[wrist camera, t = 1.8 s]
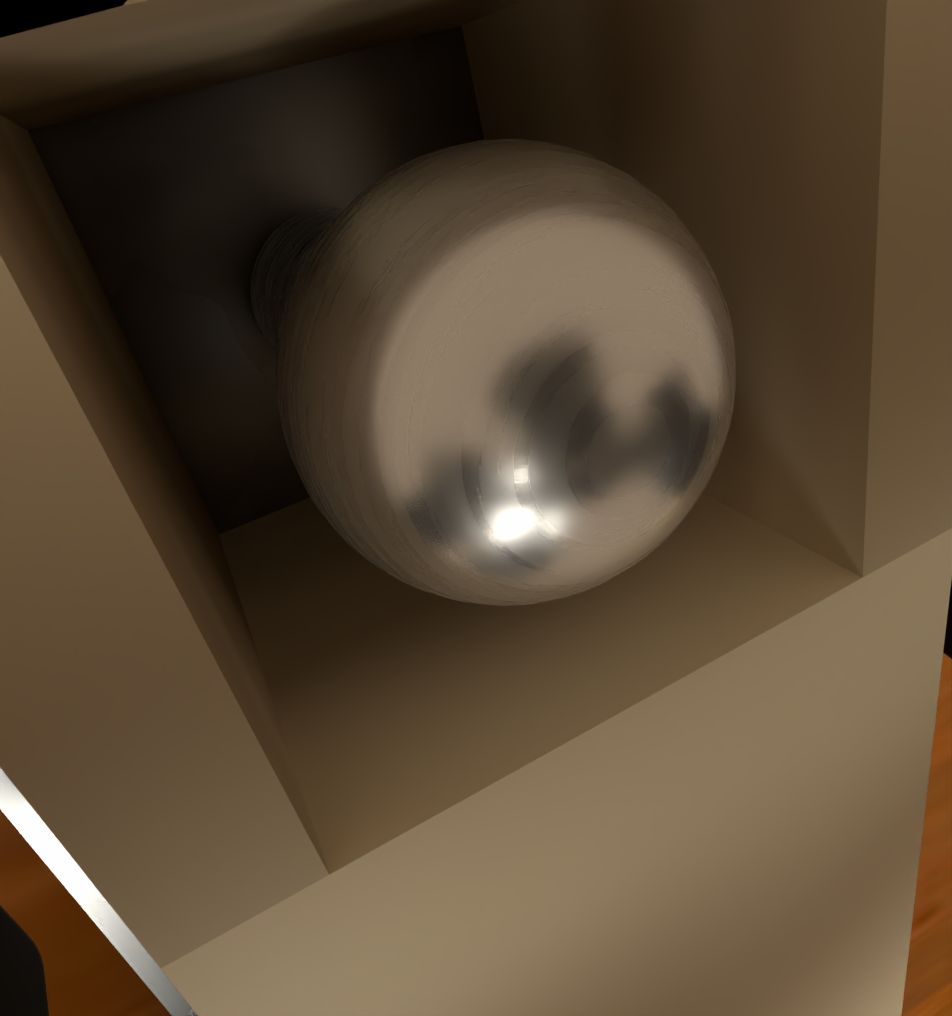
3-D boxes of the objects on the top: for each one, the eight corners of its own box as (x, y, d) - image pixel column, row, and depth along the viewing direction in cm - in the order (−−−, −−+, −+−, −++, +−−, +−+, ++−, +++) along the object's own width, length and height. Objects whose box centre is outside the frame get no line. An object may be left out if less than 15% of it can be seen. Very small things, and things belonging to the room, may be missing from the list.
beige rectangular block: (664, 803, 11) (896, 1060, 8) (364, 985, 10) (492, 1385, 7) (507, -248, 6) (1121, -888, 2) (-270, -147, 4) (-1721, -1391, 1)
